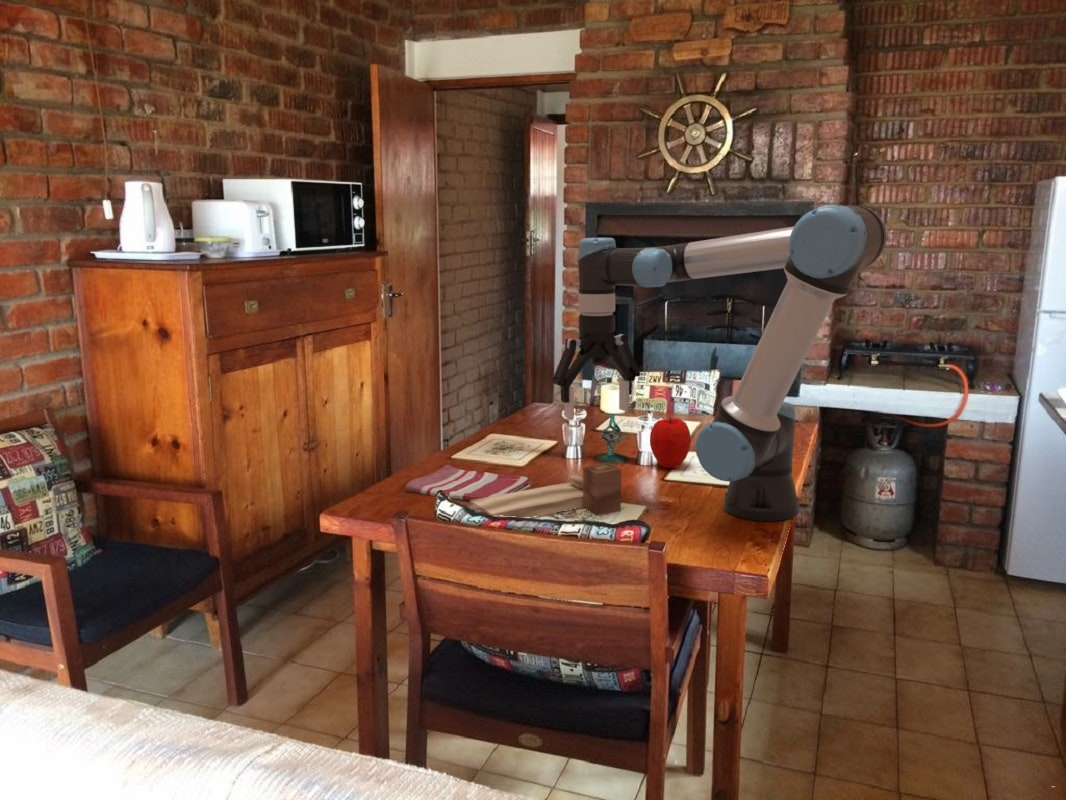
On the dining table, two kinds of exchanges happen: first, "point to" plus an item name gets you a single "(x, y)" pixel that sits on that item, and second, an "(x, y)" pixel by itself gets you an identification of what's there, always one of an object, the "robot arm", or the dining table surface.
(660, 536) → the dining table surface
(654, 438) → the apple
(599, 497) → the brown wooden block
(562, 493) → the board
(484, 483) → the dish towel
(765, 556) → the dining table surface
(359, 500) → the dining table surface
